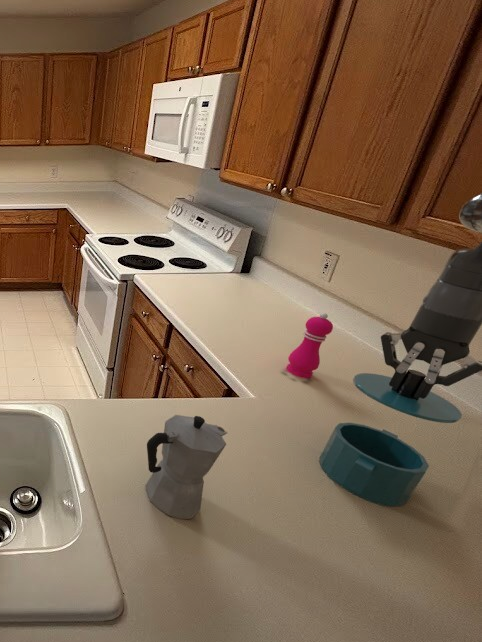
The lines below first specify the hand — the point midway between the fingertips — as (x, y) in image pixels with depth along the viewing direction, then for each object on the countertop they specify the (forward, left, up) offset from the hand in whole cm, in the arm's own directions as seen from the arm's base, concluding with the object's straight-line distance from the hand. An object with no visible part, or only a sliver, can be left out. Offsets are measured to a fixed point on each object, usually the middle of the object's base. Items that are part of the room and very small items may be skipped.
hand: (405, 393), depth 77 cm
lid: (0, 0, -1) cm, 1 cm away
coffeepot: (+17, +42, -20) cm, 50 cm away
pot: (-1, +1, -20) cm, 20 cm away
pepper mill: (+23, -37, -20) cm, 48 cm away
